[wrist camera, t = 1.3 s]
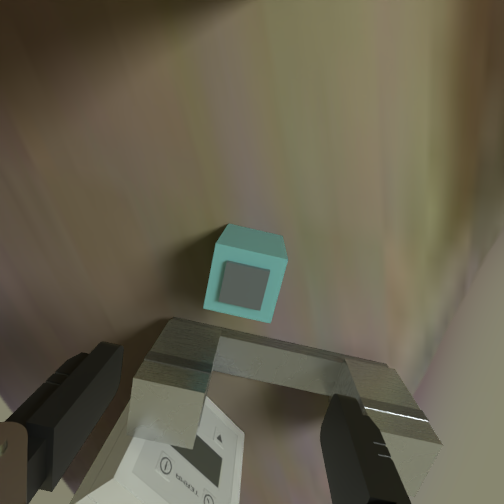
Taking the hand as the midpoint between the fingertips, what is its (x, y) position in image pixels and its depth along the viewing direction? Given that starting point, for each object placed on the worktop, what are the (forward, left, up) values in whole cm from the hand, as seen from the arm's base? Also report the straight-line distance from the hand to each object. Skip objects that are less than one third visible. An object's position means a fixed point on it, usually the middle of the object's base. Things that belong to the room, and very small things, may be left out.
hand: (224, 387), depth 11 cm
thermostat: (+23, -5, -17) cm, 29 cm away
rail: (+10, +5, -17) cm, 20 cm away
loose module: (0, 0, -17) cm, 17 cm away
